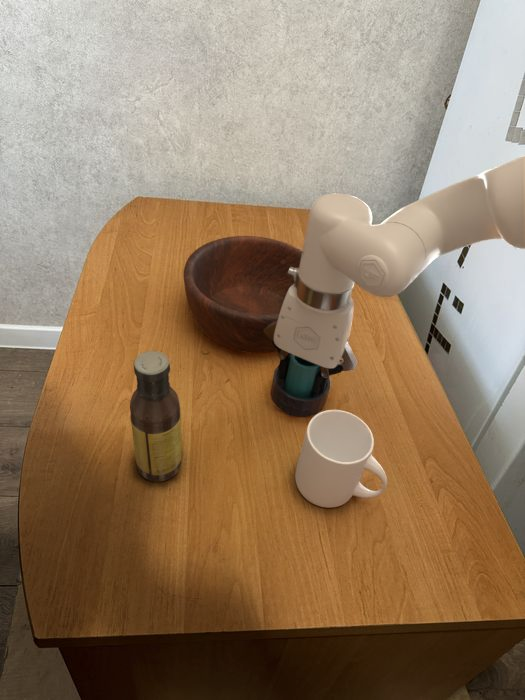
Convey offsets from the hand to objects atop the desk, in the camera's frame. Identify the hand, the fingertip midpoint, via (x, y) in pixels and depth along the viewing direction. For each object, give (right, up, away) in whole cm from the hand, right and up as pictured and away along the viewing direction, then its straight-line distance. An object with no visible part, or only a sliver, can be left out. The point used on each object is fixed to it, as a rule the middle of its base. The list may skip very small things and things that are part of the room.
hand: (301, 380), depth 83 cm
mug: (+4, -15, -9) cm, 18 cm away
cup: (0, -2, +2) cm, 3 cm away
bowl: (0, -3, +3) cm, 4 cm away
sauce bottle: (-21, -11, -9) cm, 25 cm away
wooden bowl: (-8, +11, +16) cm, 21 cm away
